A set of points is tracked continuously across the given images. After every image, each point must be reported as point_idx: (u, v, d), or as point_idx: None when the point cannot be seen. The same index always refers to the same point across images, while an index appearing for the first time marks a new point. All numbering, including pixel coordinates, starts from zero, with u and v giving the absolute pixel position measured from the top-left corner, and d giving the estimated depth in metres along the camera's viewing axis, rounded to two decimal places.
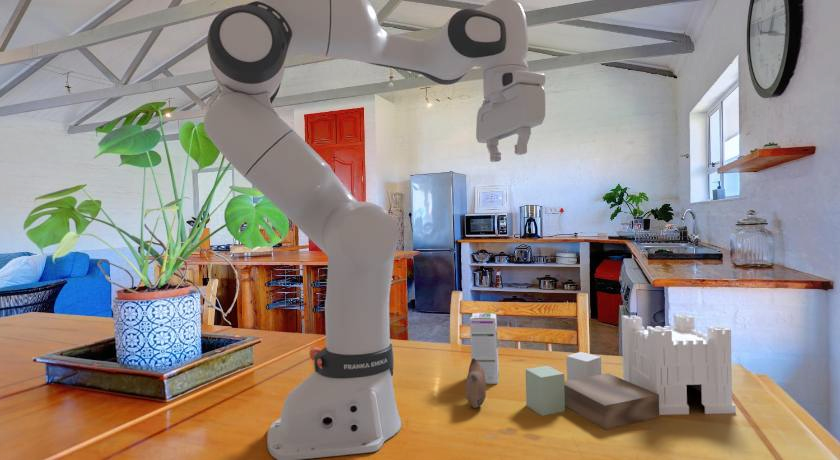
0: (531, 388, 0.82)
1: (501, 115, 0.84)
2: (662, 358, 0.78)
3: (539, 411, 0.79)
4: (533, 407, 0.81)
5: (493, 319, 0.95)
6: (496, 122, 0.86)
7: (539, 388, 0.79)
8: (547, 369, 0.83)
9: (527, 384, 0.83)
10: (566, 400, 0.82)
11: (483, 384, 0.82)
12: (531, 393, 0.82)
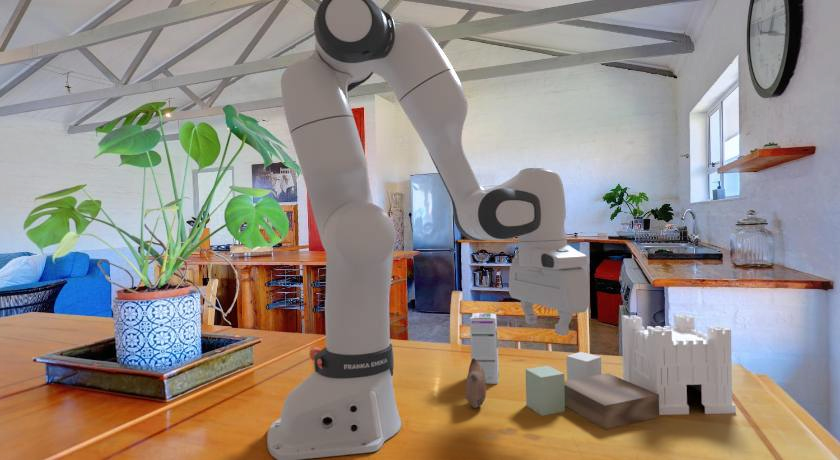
0: (531, 388, 0.82)
1: (539, 287, 0.80)
2: (662, 358, 0.78)
3: (539, 411, 0.79)
4: (533, 407, 0.81)
5: (493, 319, 0.95)
6: (533, 291, 0.82)
7: (539, 388, 0.79)
8: (547, 369, 0.83)
9: (527, 384, 0.83)
10: (566, 400, 0.82)
11: (483, 384, 0.82)
12: (531, 393, 0.82)
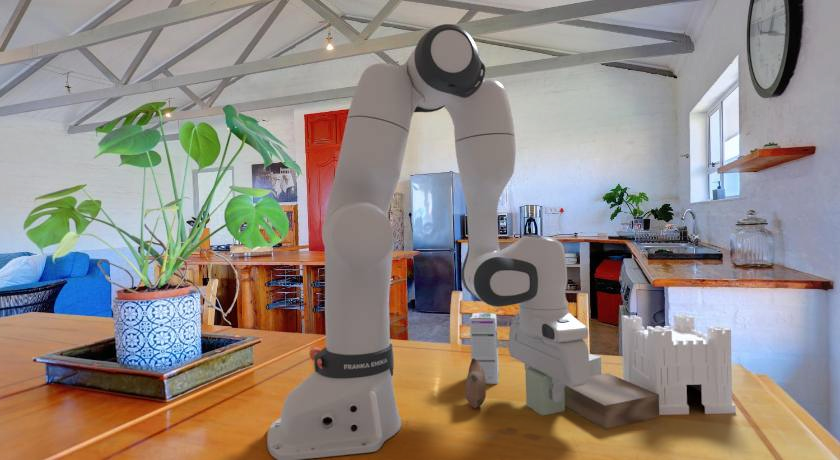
0: (531, 388, 0.82)
1: (539, 354, 0.80)
2: (662, 358, 0.78)
3: (539, 410, 0.79)
4: (533, 407, 0.81)
5: (493, 319, 0.95)
6: (533, 356, 0.82)
7: (539, 388, 0.79)
8: None
9: (527, 384, 0.83)
10: (566, 400, 0.82)
11: (483, 384, 0.82)
12: (531, 393, 0.82)
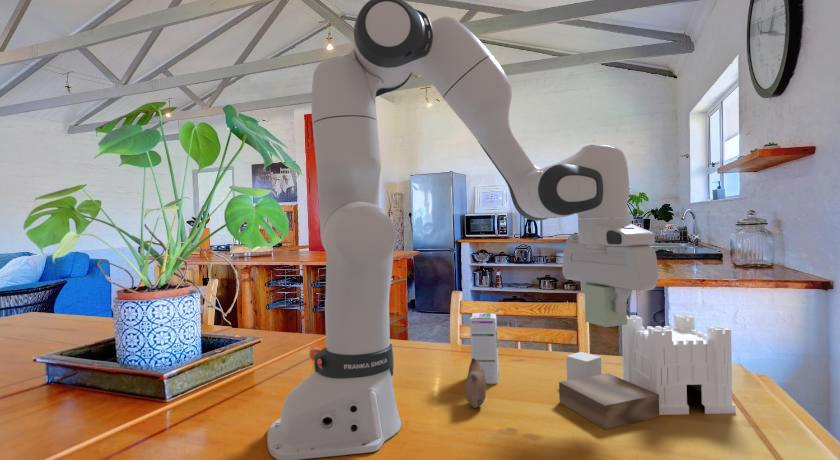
0: (592, 302, 0.80)
1: (601, 266, 0.79)
2: (662, 358, 0.78)
3: (602, 323, 0.78)
4: (594, 321, 0.80)
5: (493, 319, 0.95)
6: (593, 270, 0.81)
7: (602, 299, 0.78)
8: None
9: (586, 299, 0.82)
10: (566, 400, 0.82)
11: (483, 384, 0.82)
12: (591, 307, 0.80)
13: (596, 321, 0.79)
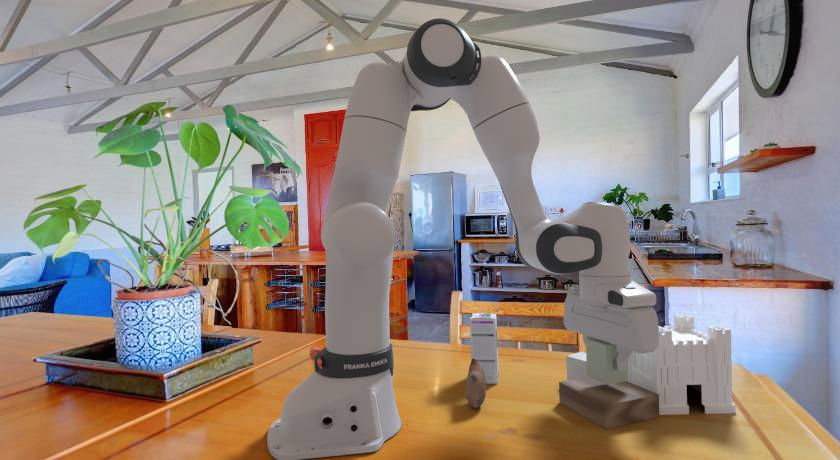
0: (593, 357, 0.80)
1: (602, 323, 0.79)
2: (662, 358, 0.78)
3: (603, 380, 0.78)
4: (595, 377, 0.80)
5: (493, 319, 0.95)
6: (594, 326, 0.81)
7: (603, 357, 0.78)
8: None
9: (588, 354, 0.82)
10: (566, 400, 0.82)
11: (483, 384, 0.82)
12: (593, 363, 0.81)
13: (597, 377, 0.80)
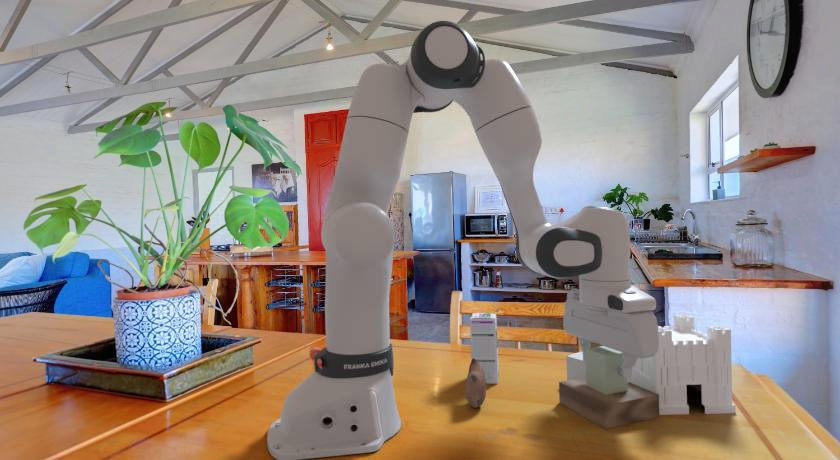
0: (593, 367, 0.80)
1: (602, 327, 0.79)
2: (662, 358, 0.78)
3: (603, 390, 0.78)
4: (595, 386, 0.80)
5: (493, 319, 0.95)
6: (594, 330, 0.81)
7: (603, 367, 0.78)
8: (608, 348, 0.81)
9: (587, 363, 0.82)
10: (566, 400, 0.82)
11: (483, 384, 0.82)
12: (592, 372, 0.80)
13: (597, 387, 0.79)
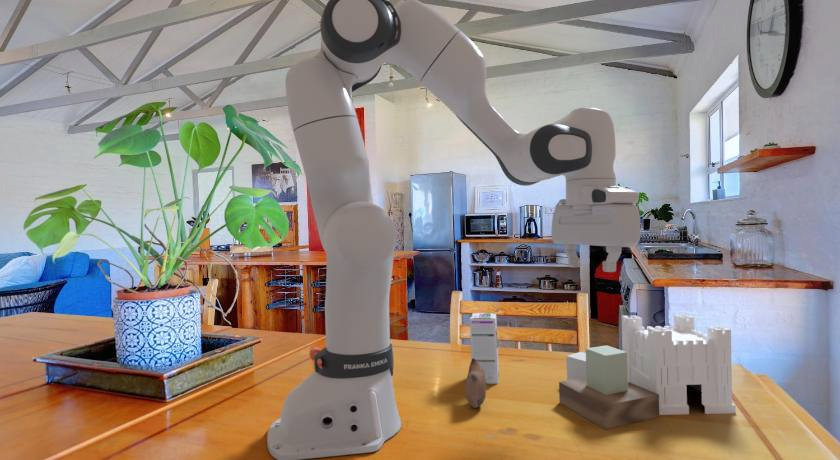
0: (593, 367, 0.80)
1: (587, 226, 0.81)
2: (662, 358, 0.78)
3: (603, 390, 0.78)
4: (595, 386, 0.80)
5: (493, 319, 0.95)
6: (580, 231, 0.83)
7: (603, 367, 0.78)
8: (608, 348, 0.81)
9: (587, 363, 0.82)
10: (566, 400, 0.82)
11: (483, 384, 0.82)
12: (592, 372, 0.80)
13: (597, 387, 0.79)
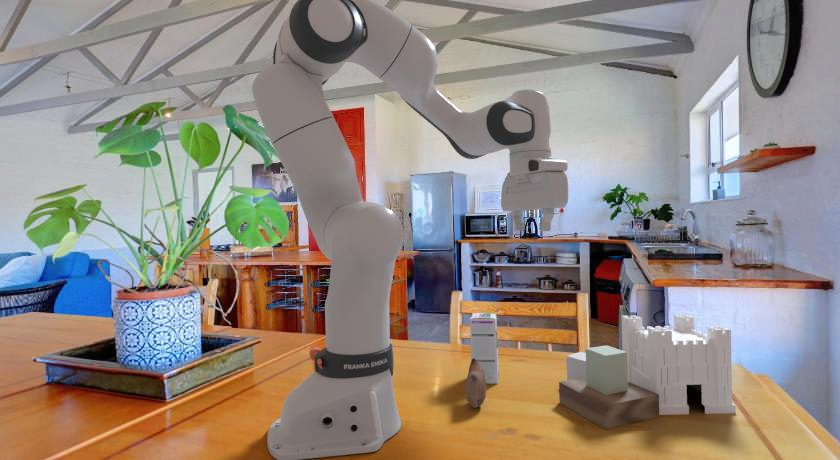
0: (593, 367, 0.80)
1: (527, 193, 0.93)
2: (662, 358, 0.78)
3: (603, 390, 0.78)
4: (595, 386, 0.80)
5: (493, 319, 0.95)
6: (522, 198, 0.95)
7: (603, 367, 0.78)
8: (608, 348, 0.81)
9: (587, 363, 0.82)
10: (566, 400, 0.82)
11: (483, 384, 0.82)
12: (592, 372, 0.80)
13: (597, 387, 0.79)
